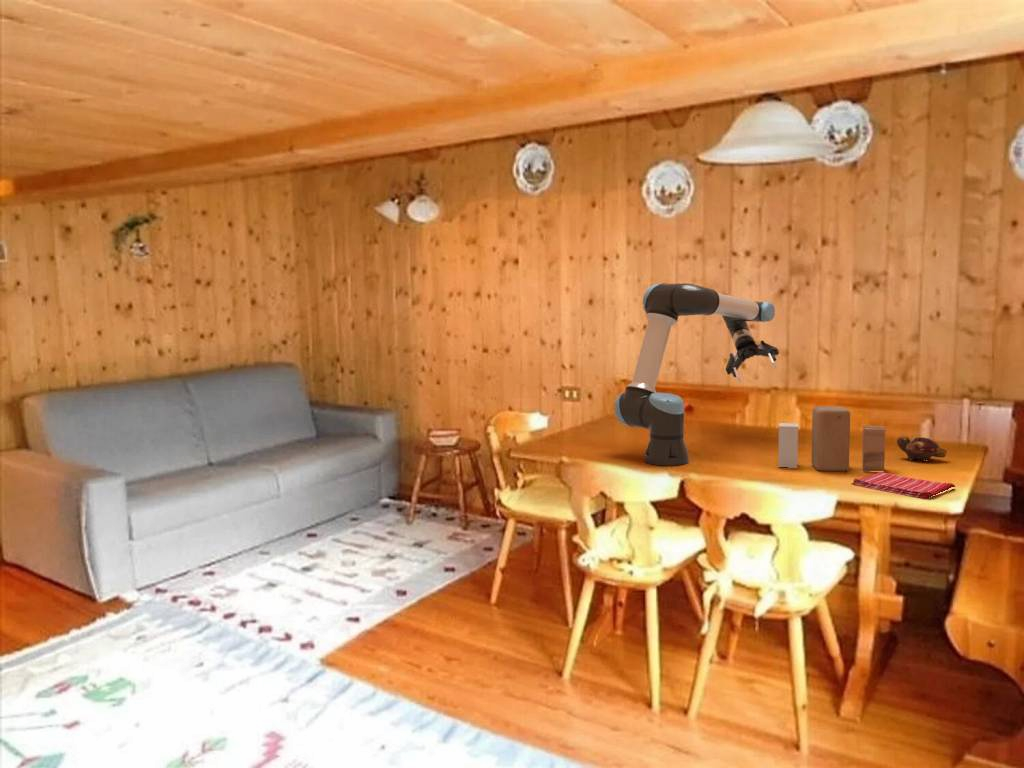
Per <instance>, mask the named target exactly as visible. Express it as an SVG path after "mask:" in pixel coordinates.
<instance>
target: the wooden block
mask: <svg viewBox="0 0 1024 768" xmlns="http://www.w3.org/2000/svg"><path fill="white" fill-rule="evenodd" d="M811 414H812V416H811V417H812V419H811V420H812V423H811V424H812V425H811V460H810V461H811V465H812V464H813V465H812V466H813V467H814V468H815V469H816V470H817V471H819V470H820V471H819V472H847V471H849V469H850V441H851V440H850V438H851V437H850V436H851V411H850V410H848V409H847V408H845V407H844V406H842V405H838V406H837V405H836V406H835V405H834V406H832V405H827V406H825V405H821V406H820V405H818V406H817V405H815V406H813V408H812V412H811ZM845 470H846V471H845Z"/></svg>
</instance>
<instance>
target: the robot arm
mask: <svg viewBox="0 0 1024 768" xmlns="http://www.w3.org/2000/svg"><path fill="white" fill-rule="evenodd" d="M643 294H644V295H643V297H642V305H643V307H642V308H643V311H644V312H645V318H646V320H647V324H646V329H645V332H644V335H643V339H642V342H641V343H642V344H641V346H640V347H641V348H640V350H639V354H638V358H637V362H636V365H635V369H634V373H633V377H632V380H631V383H629V384H627V385H626V386H625V389H624V392H622V393H620V394H619V395H617V397H616V399H615V402H614V406H613V409H614V414H615V416H616V418H617V420H618V421H619V423H621V424H623V425H624V426H625V425H626V426H628V427H631V428H633V427H636V428H641V429H645V430H647V429H649V441H648V444H647V447H646V450H645V452H644V461H645V462H646V463H648V464H650V465H654V466H655V465H656V466H666V467H667V466H669V467H670V466H680V465H686V464H687V463H689V461H690V457H689V452H688V449H687V446H686V442H685V436H684V435H685V434H684V433H685V431H684V429H685V427H684V425H685V424H684V422H685V407H684V399H683V398H682V397H681V396H679V395H676V394H673V393H671V392H670V393H669V392H657V390H656V386H657V382H658V378H659V375H660V371H661V366H662V364H663V359H664V357H665V356H664V355H665V351H666V349H667V346H668V345H667V344H668V340H669V337H670V332H671V329H672V327H673V326H675V325H676V324H677V323H678V319H679V317H687V316H703V315H704V316H712V315H719V316H721V317H722V319H723V322H724V324H725V325H726V328H727V330H728V332H729V334H730V337H731V339H732V341H733V345H734V347H735V350H736V353H734V354H733V353H732V352H731V353H730V354H729V359H728V361H727V365H726V367H725V371H726V373H727V375H732V377H733V378H736V379H737V381H738V382H739V383H742V380H741V377H740V375H739V372H738V370H739V368H740V367H741V365H742V364H743V363H744V362H746V360H748V359H750V358H752V357H755V356H756V357H757V356H758V357H760V356H763V357H767V358H769V359H770V362H771V363H772V366H773V368H774V369H777V365H776V363H775V362H776V361H777V358H776V356H777V355H779V354H780V353H779V350H778V348H777V347H775V346H773V345H771V344H769V343H766V342H765V341H764V340H760V343H758V344H757V343H756V341H755V340H754V337H753V335H752V333H751V330H750V327H749V325H748V322H758V323H761V322H762V323H768V322H771V321H773V319H774V318H775V315H776V309H775V306H774V304H773V303H772V302H769V301H768V302H767V301H756V300H752V299H747V298H742V297H737V296H733V295H728V294H723V293H719V292H717V291H716V290H715V289H713V288H708V287H704V286H702V285H697V284H693V283H686V282H685V283H684V282H683V283H665V282H661V283H657V284H653V285H651V286H649V287H648V288H647V289H646V291H645V293H643Z"/></svg>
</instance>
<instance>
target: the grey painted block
mask: <svg viewBox="0 0 1024 768" xmlns="http://www.w3.org/2000/svg"><path fill="white" fill-rule="evenodd" d="M777 454H778V460H777V461H778V462H777V463H778V464H777V467H788V468H787V469H795V468H797V469H798V466H799V465H798V462H799V460H798V459H799V456H798V455H799V423H792V422H791V423H789V422H788V423H787V422H785V423H784V422H783V423H782V422H779V423H778V453H777ZM797 465H798V466H797Z"/></svg>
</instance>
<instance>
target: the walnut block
mask: <svg viewBox="0 0 1024 768" xmlns="http://www.w3.org/2000/svg"><path fill="white" fill-rule="evenodd" d="M885 447H886V428H885V426H883V425H882V426H881V425H880V426H879V425H878V426H877V425H863V430H862V461H861V462H862V464H861V465H862V466H861V467H863V468H862V472H863V471H884V472H885V453H886V452H885V451H886V450H885V449H886V448H885Z"/></svg>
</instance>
